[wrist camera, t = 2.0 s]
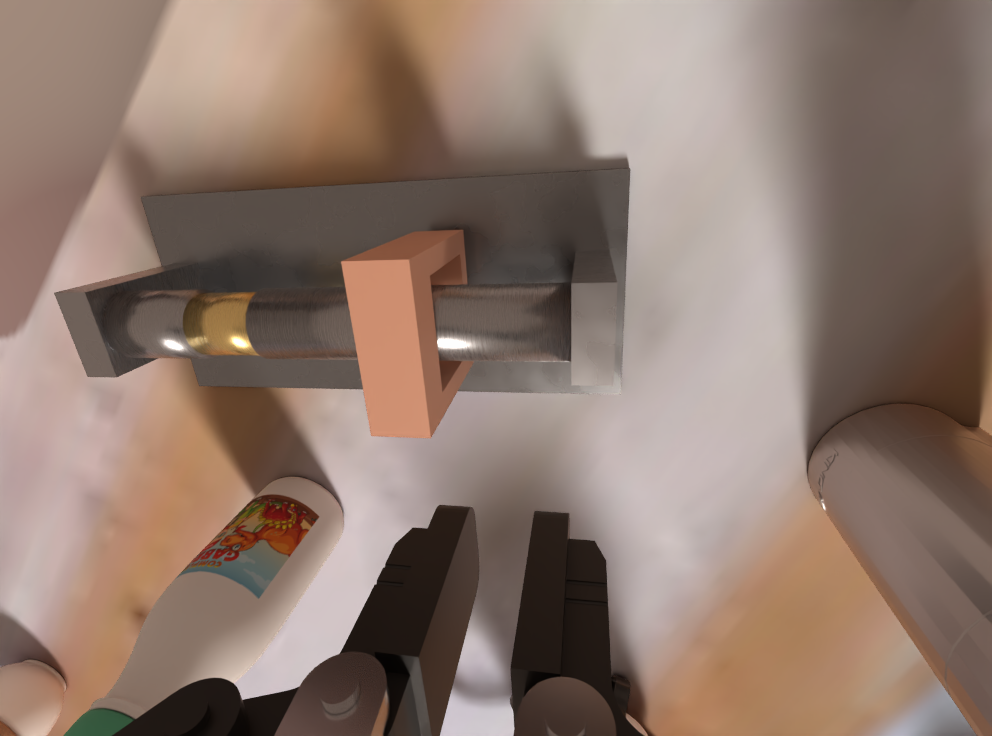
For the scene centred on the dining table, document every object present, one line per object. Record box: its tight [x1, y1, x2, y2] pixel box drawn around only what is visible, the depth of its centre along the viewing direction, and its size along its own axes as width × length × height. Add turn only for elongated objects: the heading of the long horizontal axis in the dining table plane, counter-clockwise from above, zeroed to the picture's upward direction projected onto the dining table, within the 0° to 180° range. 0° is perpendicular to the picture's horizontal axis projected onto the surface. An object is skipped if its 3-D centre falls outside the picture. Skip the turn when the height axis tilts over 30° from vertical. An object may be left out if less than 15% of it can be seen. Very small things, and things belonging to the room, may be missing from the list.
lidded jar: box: [0, 659, 67, 736], centre depth 56 cm, size 11×11×9 cm
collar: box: [341, 230, 474, 438], centre depth 27 cm, size 3×8×10 cm, turn 3°
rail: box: [54, 168, 630, 395], centre depth 30 cm, size 32×14×9 cm, turn 93°
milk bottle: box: [64, 477, 344, 736], centre depth 34 cm, size 8×8×20 cm
